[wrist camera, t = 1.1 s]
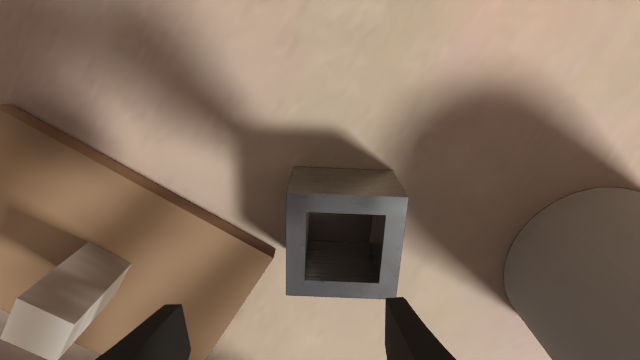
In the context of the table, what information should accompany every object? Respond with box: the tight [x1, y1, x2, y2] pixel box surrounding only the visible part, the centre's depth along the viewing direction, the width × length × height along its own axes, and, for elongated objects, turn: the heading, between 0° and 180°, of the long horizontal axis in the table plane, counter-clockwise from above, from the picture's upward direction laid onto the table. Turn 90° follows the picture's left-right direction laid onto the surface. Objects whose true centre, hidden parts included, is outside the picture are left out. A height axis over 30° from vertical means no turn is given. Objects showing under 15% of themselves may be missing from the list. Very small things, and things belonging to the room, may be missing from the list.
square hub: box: [286, 167, 408, 299], centre depth 19 cm, size 5×5×4 cm
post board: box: [0, 104, 276, 360], centre depth 19 cm, size 16×12×6 cm
